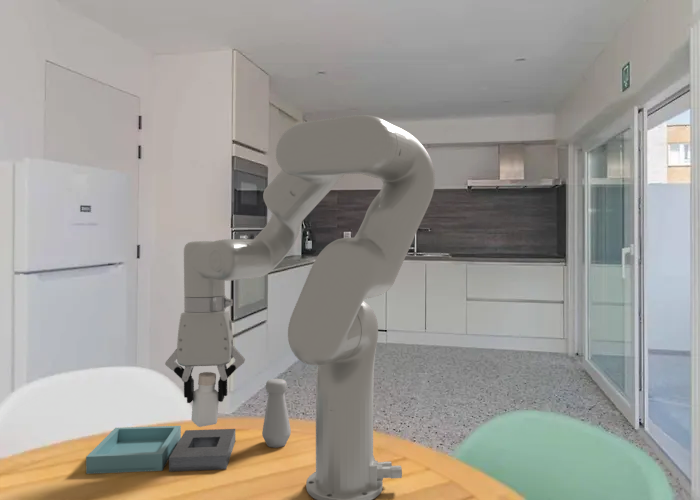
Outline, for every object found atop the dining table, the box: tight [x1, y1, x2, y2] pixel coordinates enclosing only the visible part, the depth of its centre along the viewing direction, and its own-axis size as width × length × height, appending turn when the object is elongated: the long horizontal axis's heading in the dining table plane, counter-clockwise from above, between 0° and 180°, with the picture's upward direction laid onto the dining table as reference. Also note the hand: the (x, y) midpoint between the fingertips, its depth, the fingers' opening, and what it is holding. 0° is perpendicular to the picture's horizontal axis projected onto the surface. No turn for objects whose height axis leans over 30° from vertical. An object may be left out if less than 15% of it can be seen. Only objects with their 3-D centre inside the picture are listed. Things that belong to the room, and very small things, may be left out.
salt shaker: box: [261, 378, 291, 449], centre depth 107 cm, size 6×6×13 cm
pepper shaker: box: [191, 371, 219, 428], centre depth 101 cm, size 4×4×10 cm
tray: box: [85, 425, 182, 475], centre depth 101 cm, size 13×15×3 cm
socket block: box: [168, 428, 236, 473], centre depth 102 cm, size 10×14×2 cm
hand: (206, 399), depth 101 cm, fingers closed on pepper shaker, 5 cm apart
